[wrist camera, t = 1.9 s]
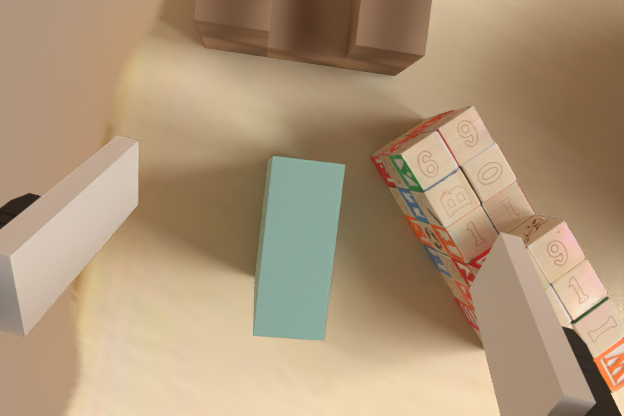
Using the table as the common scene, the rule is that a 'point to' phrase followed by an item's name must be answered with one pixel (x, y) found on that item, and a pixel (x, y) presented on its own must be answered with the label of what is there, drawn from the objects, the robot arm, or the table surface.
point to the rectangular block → (296, 247)
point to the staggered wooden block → (320, 31)
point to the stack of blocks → (494, 226)
